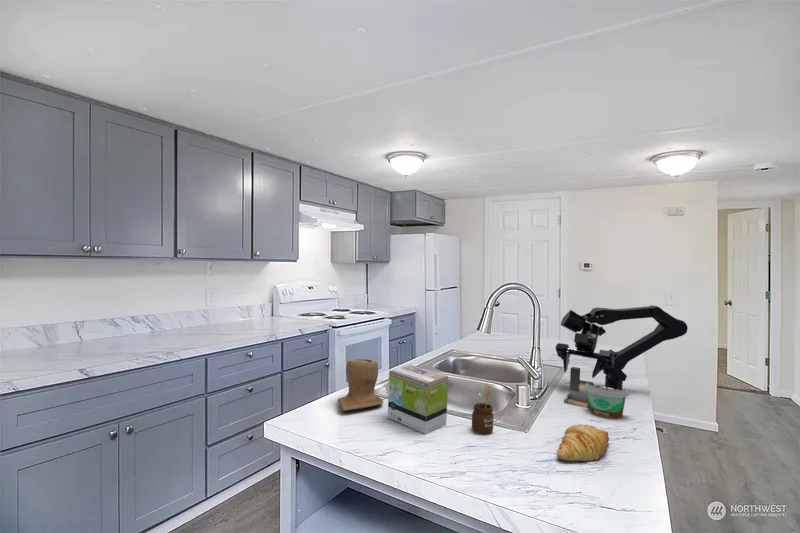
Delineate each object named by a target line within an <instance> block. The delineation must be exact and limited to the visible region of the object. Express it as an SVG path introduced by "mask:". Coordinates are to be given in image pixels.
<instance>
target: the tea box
mask: <svg viewBox="0 0 800 533" xmlns="http://www.w3.org/2000/svg"><path fill="white" fill-rule="evenodd" d="M388 374H389V375H388V397H387V398H388V400H387V401H388V402H387V406H388V407H387V418H388V419H390V420H393V421H395V422H397V423H399V424H402V425H405V426H407V427H409V428H411V429H413V430H415V431H418V432H420V433H422V434H424V435H427V434H429V433H432V432H433V431H435V430H437V429H439V428H442V427H443V426H445V425H447V418H448V417H447V416H448V415H447V413H448V390H449V387H448V386H449V385H448V384H449V375H446V374H442V373H440V372H436V371H433V370H430V369H426V368H422V367H419V366H415V365H412V364H409V365H405V366H402V367H398V368H396V369H395V368H394V369H392V370H389V371H388Z"/></svg>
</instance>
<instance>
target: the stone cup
mask: <svg viewBox="0 0 800 533" xmlns="http://www.w3.org/2000/svg"><path fill="white" fill-rule="evenodd" d="M345 372H346V373H345V374H346V379H347V384H348V393H347V394H346V395H345V396H342V397H339V398H338V399H337V402H338V406H339V409H340V411H342V412H347V411H354V410H360V409H366V408H370V407H371V408H372V407H374V406H380V405H382V404H384V399H382V398H381V397H380V396H378V395H377V394H375V387H376V383H377V381H378V376H379V364H378V361H376V360H375V359H370V358H354V359H353V358H352V359H348V360H347V363H346V369H345Z"/></svg>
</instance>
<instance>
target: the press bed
mask: <svg viewBox="0 0 800 533" xmlns="http://www.w3.org/2000/svg"><path fill="white" fill-rule="evenodd" d="M580 383H583V384H587V383H588V384H589V385H594V383H595V382H593V381H587V380H583V379H582V380H581V379H580ZM594 386H595V385H594ZM563 399H564V400H563V404H565V405H571V406H576V407H580V408H586V409H588V402H583V401H578V400H573V399H570V391H569V392H567V394H566V396H565V397H564V398H563Z"/></svg>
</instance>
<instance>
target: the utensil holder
mask: <svg viewBox="0 0 800 533" xmlns="http://www.w3.org/2000/svg"><path fill="white" fill-rule="evenodd" d="M491 392H492V386H490V385H487V384H485V391H484V394H482V393H480V395H478V394H476V396H475V401H476V402H475V403H474V406H473V411H472V415H471V430H472V431H473V432H474V433H476V434H478V435H479V434H480V435H489V434H492V433H493V431H494V412H493V406H492V405H491V404H489V403H488V399H489V398H491ZM479 396H481V397H483V398H482V399H481V402H478V398H480V397H479ZM477 397H478V398H477ZM485 398H486V399H485ZM483 399H485V402H483Z"/></svg>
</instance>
